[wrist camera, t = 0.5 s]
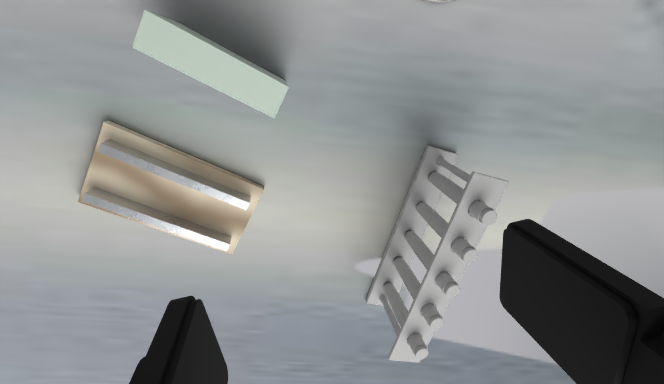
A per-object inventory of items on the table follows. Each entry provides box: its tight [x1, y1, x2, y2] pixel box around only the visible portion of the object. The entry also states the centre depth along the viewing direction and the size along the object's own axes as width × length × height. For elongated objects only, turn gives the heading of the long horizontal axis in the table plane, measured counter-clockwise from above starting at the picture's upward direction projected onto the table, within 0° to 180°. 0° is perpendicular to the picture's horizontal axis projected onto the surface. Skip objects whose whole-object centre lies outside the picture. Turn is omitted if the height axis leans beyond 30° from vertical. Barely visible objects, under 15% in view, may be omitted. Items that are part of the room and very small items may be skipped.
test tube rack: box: [366, 145, 509, 362], centre depth 41 cm, size 25×4×13 cm, turn 163°
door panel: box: [132, 10, 289, 118], centre depth 31 cm, size 3×12×9 cm, turn 61°
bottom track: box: [78, 120, 264, 255], centre depth 38 cm, size 10×18×3 cm, turn 62°
